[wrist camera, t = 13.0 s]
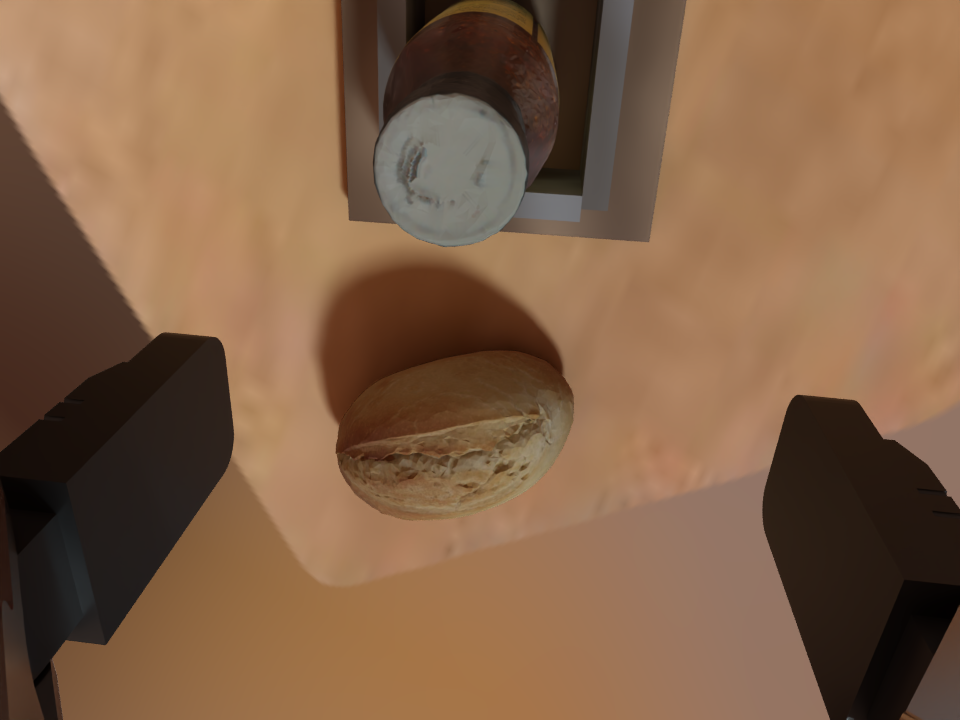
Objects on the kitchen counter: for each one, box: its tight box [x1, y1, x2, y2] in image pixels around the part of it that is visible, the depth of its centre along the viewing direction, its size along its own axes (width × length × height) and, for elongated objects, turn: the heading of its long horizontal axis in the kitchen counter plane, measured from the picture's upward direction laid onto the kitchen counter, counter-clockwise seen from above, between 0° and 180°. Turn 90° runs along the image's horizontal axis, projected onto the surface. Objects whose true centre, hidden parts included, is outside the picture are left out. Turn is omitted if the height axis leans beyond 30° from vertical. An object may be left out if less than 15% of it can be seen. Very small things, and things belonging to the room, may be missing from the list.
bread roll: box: [336, 350, 574, 521], centre depth 44 cm, size 10×15×8 cm, turn 113°
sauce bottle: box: [373, 0, 559, 247], centre depth 28 cm, size 7×6×20 cm
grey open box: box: [341, 0, 686, 242], centre depth 35 cm, size 16×16×6 cm
